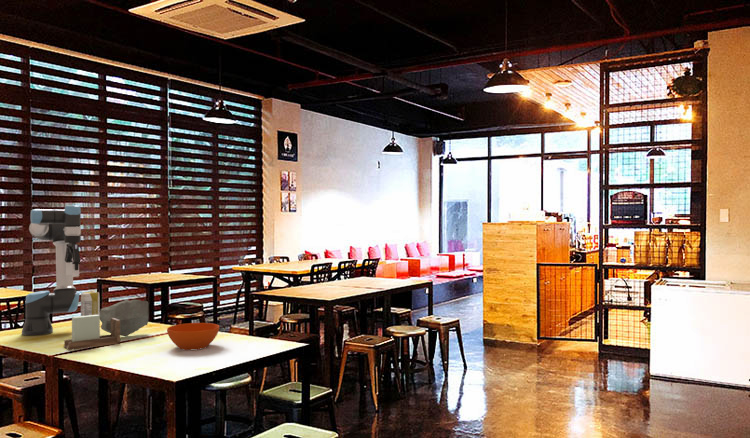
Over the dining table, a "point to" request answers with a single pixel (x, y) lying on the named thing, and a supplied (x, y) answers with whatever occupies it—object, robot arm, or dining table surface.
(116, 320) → the track
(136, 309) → the rock
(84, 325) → the door panel
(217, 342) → the dining table surface
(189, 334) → the bowl
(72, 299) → the robot arm
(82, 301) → the juice carton
